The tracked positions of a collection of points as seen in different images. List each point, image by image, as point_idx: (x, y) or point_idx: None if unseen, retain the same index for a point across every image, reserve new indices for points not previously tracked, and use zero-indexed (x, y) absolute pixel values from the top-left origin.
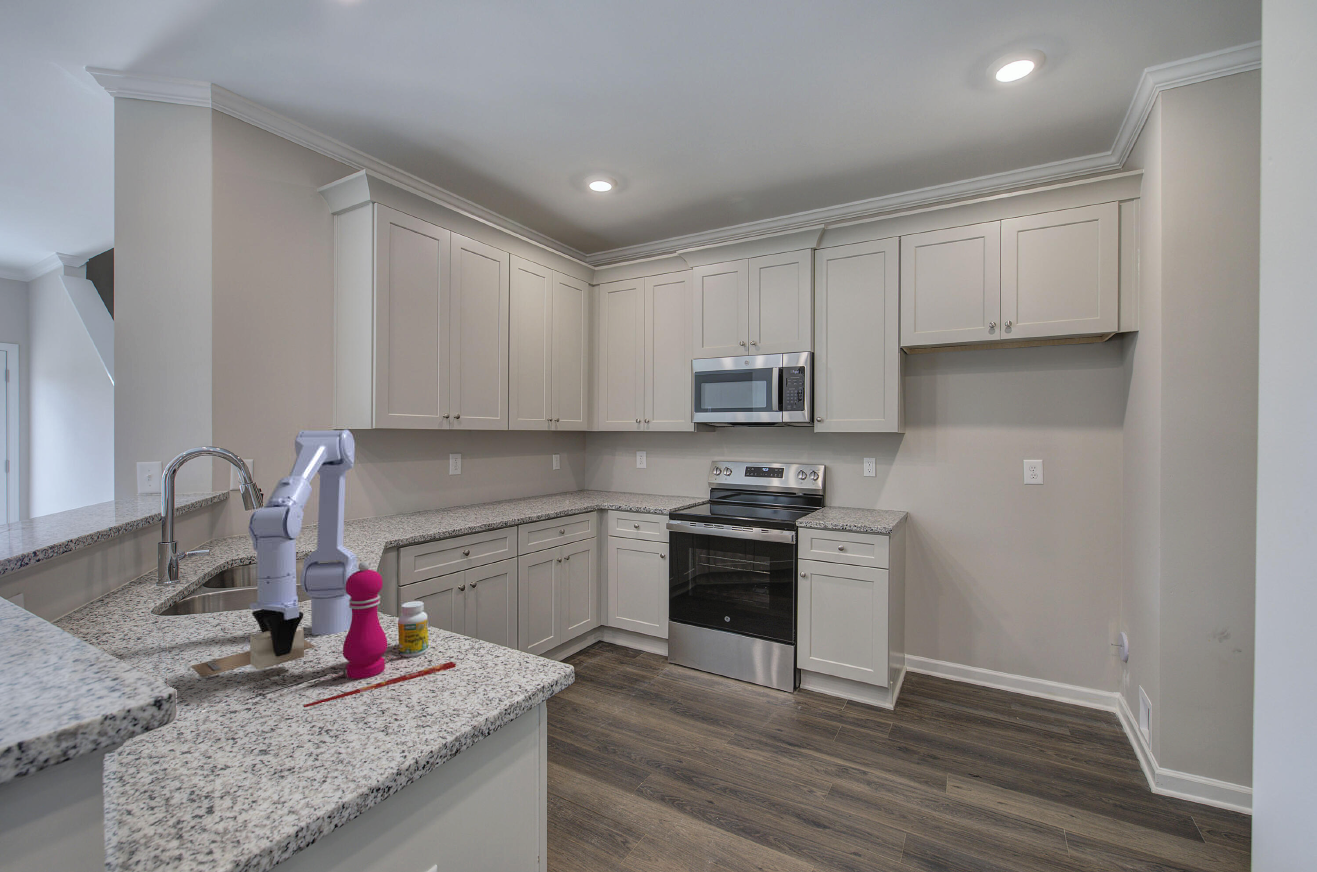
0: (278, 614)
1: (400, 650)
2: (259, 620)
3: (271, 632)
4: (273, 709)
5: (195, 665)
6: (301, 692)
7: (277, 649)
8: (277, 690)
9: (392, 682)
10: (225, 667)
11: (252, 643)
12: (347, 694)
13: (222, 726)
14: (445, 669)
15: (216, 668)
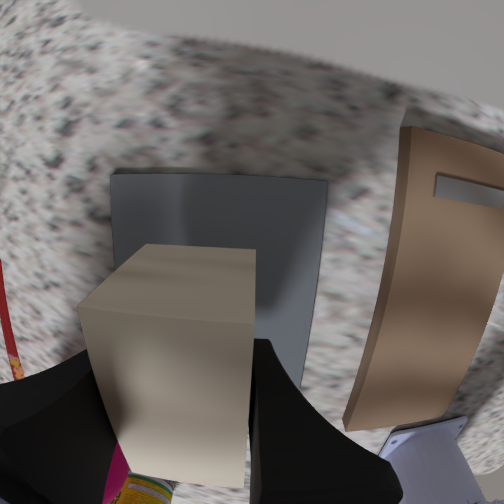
0: (1, 484)
1: (137, 479)
2: (261, 456)
3: (34, 381)
4: (17, 207)
5: None
6: (64, 291)
7: None
8: (116, 258)
9: None
10: (437, 212)
11: (199, 295)
12: (3, 333)
13: (17, 98)
14: None
15: (445, 186)
